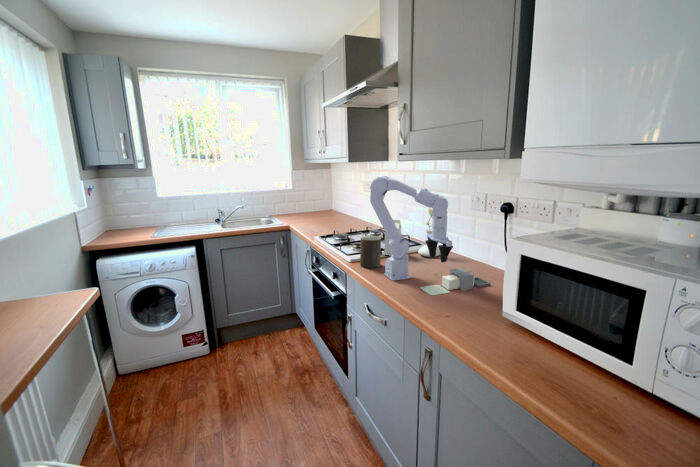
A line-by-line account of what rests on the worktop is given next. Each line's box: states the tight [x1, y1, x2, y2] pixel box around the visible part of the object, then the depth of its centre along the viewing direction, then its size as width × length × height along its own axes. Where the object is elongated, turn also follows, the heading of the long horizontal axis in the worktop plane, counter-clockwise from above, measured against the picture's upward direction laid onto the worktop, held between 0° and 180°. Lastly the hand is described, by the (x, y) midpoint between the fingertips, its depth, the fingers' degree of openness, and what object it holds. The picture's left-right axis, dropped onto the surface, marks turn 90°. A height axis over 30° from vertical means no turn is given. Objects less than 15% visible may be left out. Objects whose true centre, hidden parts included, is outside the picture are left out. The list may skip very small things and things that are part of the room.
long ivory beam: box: [441, 274, 476, 291], centre depth 127 cm, size 12×4×4 cm, turn 110°
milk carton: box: [383, 219, 402, 257], centre depth 168 cm, size 7×7×19 cm
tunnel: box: [449, 267, 475, 291], centre depth 127 cm, size 5×8×6 cm, turn 20°
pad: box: [419, 284, 451, 297], centre depth 124 cm, size 8×8×1 cm
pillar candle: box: [359, 235, 382, 270], centre depth 151 cm, size 10×10×15 cm
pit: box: [473, 276, 491, 288], centre depth 130 cm, size 6×7×1 cm
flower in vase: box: [417, 207, 440, 258], centre depth 166 cm, size 13×11×25 cm
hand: (437, 259), depth 131 cm, fingers open, 7 cm apart
